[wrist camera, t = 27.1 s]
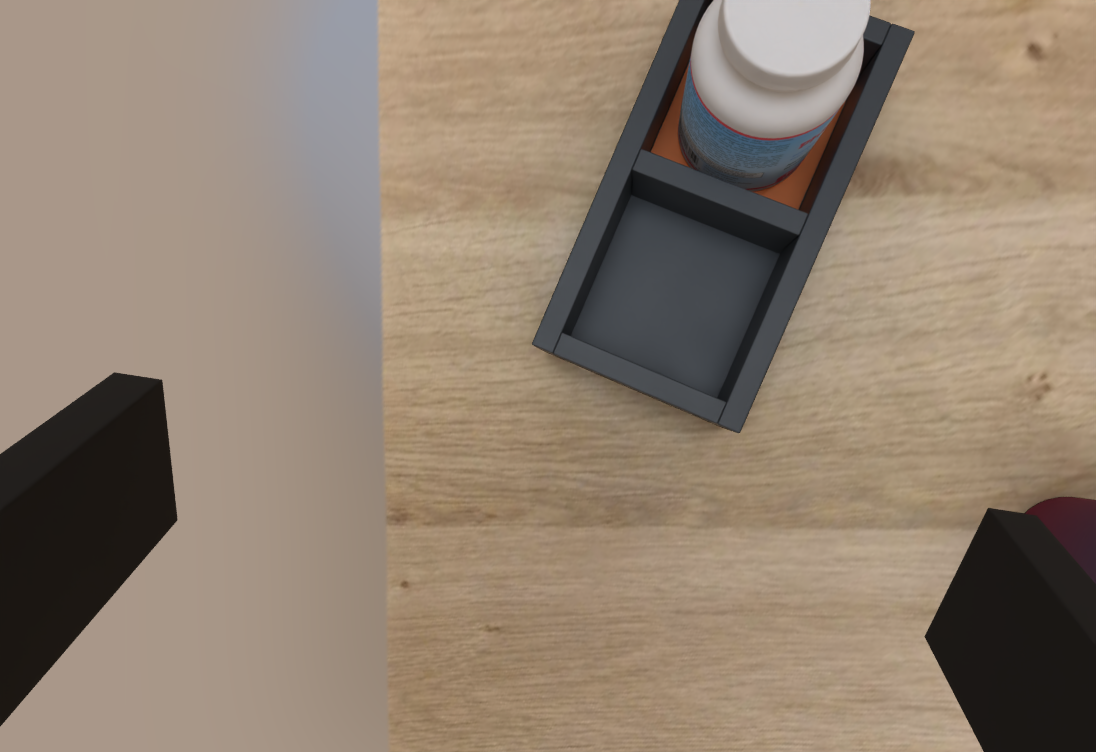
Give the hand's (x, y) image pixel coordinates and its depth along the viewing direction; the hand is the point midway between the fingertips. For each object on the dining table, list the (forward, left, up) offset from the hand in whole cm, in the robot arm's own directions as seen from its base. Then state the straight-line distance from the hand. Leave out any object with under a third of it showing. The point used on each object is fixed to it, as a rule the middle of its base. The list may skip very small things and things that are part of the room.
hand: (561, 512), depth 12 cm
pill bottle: (0, +16, -23) cm, 28 cm away
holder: (0, +12, -24) cm, 27 cm away
